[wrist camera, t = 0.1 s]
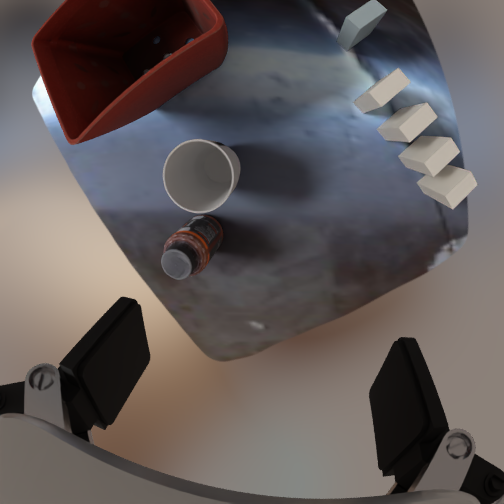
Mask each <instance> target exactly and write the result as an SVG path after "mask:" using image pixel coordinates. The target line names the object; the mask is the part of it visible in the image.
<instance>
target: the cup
mask: <svg viewBox="0 0 504 504" xmlns="http://www.w3.org/2000/svg"><path fill="white" fill-rule="evenodd" d="M240 169H241V168H240V162H239V159H238V157H237V155H236V154H235V152H234V151H233V150H232V149H230V148H229V147H227V146H225V145H224V144H222V143H219V142H216V141H210V140H201V139H194V140H189V141H186V142H183V143H181V144H180V145H178V146H177V147H176V148H174V149H173V150H172V152H171V153H170V154H169V156H168V157H167V159H166V162H165V165H164V169H163V182H164V186H165V189H166V191H167V193H168V195H169V197H170V198H171V199H172V201H173V202H174V203H175V204H176V205H178V206H179V207H181V208H182V209H184V210H186V211H189V212H193V213H206V212H210V211H212V210H215V209H216V208H218V207H219V206H221V205H222V204H223V203H224V202H225V201H226V199H227V198H228V197H229V196H230V194H231V193H232V192H233V190H234V189H235V187H236V185H237V183H238V180H239V176H240Z"/></svg>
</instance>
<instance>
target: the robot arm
mask: <svg viewBox="0 0 504 504" xmlns="http://www.w3.org/2000/svg"><path fill="white" fill-rule="evenodd" d="M149 361H150V352H149V347H148V342H147V337H146V332H145V327H144V321H143V316H142V310H141V306H140V305H139V304H138V303H137V301H136V300H135V299H131V298H127V297H121V298H119V299H118V300H117V302H115V304H114V305H113V306H112V307H111V308H110V309H109V310H108V311H107V312H106V313H105V314H104V315H103V316H102V317H101V318H100V319H99V320H98V321H97V322H96V323H95V325H94V326H93V327H92V328H91V329H90V330H89V331H88V332H87V333H86V334H85V335H84V336H83V338H82V339H81V340H80V341H79V342H78V343H77V344H76V345H75V346H74V347H73V349H72V350H71V351H70V352H69V353H68V354H67V355H66V356H65V358H64V359H63V360H62V361H61V362H60V367H59V368H58V369H57V368H56V367H55V366H53V365H51V364H47V363H46V364H45V363H43V364H39V365H36V366H34V367H33V368H32V369H30V370H29V372H28V373H27V375H26V379H25V381H23V382H17V383H12V384H7V385H2V386H0V504H504V472H503V471H502V470H501V469H499V468H497V467H496V466H494V465H492V464H491V463H489V462H487V461H486V460H484V459H483V458H481V457H479V456H478V455H476V454H475V448H476V447H475V442H474V439H473V437H472V436H471V435H470V434H469V433H468V432H467V431H465V430H462V429H453V430H449V427H448V423H447V419H446V416H445V413H444V410H443V407H442V405H441V401H440V399H439V396H438V393H437V390H436V387H435V385H434V382H433V380H432V377H431V375H430V372H429V369H428V367H427V364H426V362H425V359H424V357H423V355H422V353H421V350H420V348H419V345H418V343H417V341H416V339H415V338H407V337H401V338H399V339H398V341H395V342H394V343H393V345H392V347H391V349H390V351H389V353H388V356H387V358H386V359H385V361H384V363H383V366H382V368H381V369H380V371H379V373H378V375H377V377H376V379H375V381H374V383H373V385H372V386H371V389H370V392H369V398H370V405H371V411H372V418H373V425H374V433H375V441H376V449H377V459H378V467H379V469H380V470H382V472H383V477H384V476H391V475H395V483H394V485H393V486H392V487H391V489H390V490H389V491H388V493H387V494H386V495H383V496H374V497H360V498H345V499H344V498H343V499H302V498H286V497H273V496H265V495H256V494H250V493H243V492H237V491H231V490H226V489H221V488H216V487H212V486H207V485H203V484H199V483H195V482H191V481H187V480H184V479H181V478H177V477H174V476H171V475H168V474H164V473H161V472H158V471H155V470H153V469H150V468H147V467H144V466H142V465H139V464H136V463H134V462H131V461H129V460H126V459H124V458H122V457H119V456H117V455H115V454H113V453H110V452H108V451H106V450H104V449H101V448H99V447H97V446H95V445H94V442H93V438H92V433H91V428H92V427H93V425H95V426H97V427H99V428H102V429H104V430H105V429H106V428H107V426H108V425H111V424H112V423H113V422H114V421H115V419H116V417H117V415H118V413H119V412H120V410H121V409H122V407H123V405H124V403H125V402H126V400H127V398H128V397H129V395H130V393H131V392H132V390H133V388H134V386H135V385H136V383H137V382H138V380H139V378H140V377H141V375H142V373H143V372H144V370H145V369H146V367H147V365H148V364H149Z"/></svg>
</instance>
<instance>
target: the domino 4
mask: <svg viewBox="0 0 504 504" xmlns="http://www.w3.org/2000/svg"><path fill="white" fill-rule="evenodd" d="M459 152H460V151H459V149H458V148H457V146H456V144H455V143H454V141H453V140H452V138H450V137H436V136H420V137H419V138H418V139H417V140H416V141H414V142H413V143H412V144H411V145H410V146H409V147H408V148H407V149H405V150H404V151H403V152H402V153H401V154H400V155H399V156H398V157H399V158H400V160H401V161H402V162H403V164H404V165H405V167H406V168H409V169H412V170H415V171H418V172H421V173H424V174H426V175H429V176H432V177H434V176H435V175H436V174H437V173H439V172H440V171H441V170H442V169H443V168H444V167H445V166H446V165H447V164H448V163H449V162H450V161H451V160H452V159H453V158H454V157H455V156H456V155H457V154H458V153H459Z"/></svg>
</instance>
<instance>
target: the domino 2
mask: <svg viewBox="0 0 504 504" xmlns="http://www.w3.org/2000/svg"><path fill="white" fill-rule="evenodd" d="M409 83H411V82H410V80H409V79H408V78H407V77H406V76H405V75H404V73H403V72H402V71H401V70H400V69H399V68H398V69H396V70H394V71H393V72H391V73H390V74H388V75H387V76H385V77H384V78H382V79H381V80H379V81H378V82H376V83H375V84H374V85H373V86H371V87H370V88H369V89H368V90H367V91H365V92H364V93H363V94H362V95H361V96H360V97H358V98H357V99H356V100H355V101H354V102H353V103H354V104H355V105H356V106H357V107H358V109H359V110H360V111H361V112H362V113H365V112H368V111H371V110H374V109H377V108H380V107H382V106H383V105H385V104H386V103H387V102H388V101H389V100H390V99H392V98H393V97H394V96H395V95H396V94H397V93H399V92H400V91H401V90H402V89H403V88H405V87H406V86H407V85H408V84H409Z"/></svg>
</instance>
